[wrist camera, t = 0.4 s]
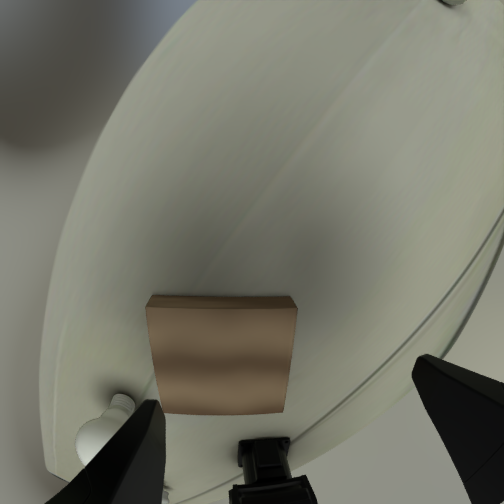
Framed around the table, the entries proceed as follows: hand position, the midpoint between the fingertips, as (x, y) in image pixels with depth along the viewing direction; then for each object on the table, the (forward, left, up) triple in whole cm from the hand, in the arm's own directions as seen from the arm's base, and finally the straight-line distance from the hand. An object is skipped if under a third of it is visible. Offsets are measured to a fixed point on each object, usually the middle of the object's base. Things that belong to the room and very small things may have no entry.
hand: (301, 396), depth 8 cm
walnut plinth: (-9, +2, -16) cm, 18 cm away
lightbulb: (-16, +13, -16) cm, 26 cm away
